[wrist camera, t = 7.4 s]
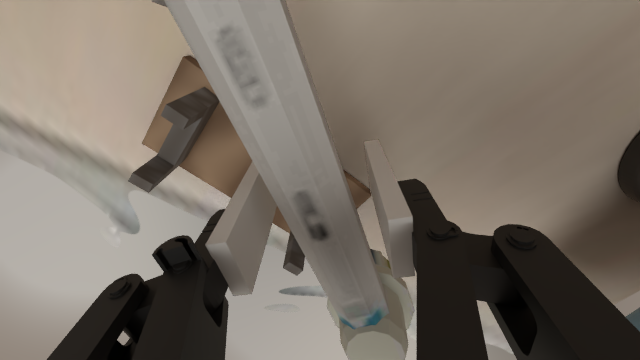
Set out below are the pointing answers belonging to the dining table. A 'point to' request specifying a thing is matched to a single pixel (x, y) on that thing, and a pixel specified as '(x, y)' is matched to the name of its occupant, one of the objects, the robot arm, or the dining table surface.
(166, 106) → the hook board
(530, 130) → the dining table surface
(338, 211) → the grey handled tool
